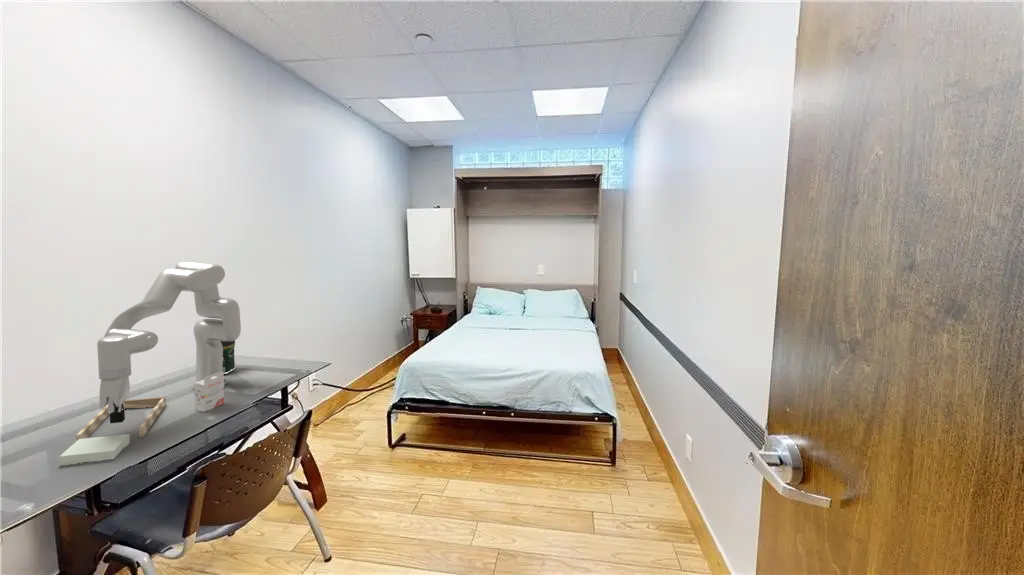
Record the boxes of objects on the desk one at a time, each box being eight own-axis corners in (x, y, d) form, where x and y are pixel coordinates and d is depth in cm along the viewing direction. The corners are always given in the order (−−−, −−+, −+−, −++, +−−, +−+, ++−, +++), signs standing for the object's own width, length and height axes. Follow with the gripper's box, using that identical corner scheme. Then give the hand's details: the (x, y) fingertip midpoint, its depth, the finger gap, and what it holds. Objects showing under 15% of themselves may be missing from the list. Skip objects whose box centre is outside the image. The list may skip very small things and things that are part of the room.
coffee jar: (220, 368, 191) (220, 334, 189) (237, 369, 193) (238, 335, 191) (208, 375, 182) (209, 339, 180) (226, 376, 183) (227, 340, 181)
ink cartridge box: (214, 401, 158) (215, 368, 157) (224, 403, 157) (224, 370, 156) (193, 410, 150) (194, 375, 148) (203, 412, 149) (204, 377, 147)
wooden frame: (110, 409, 143) (110, 401, 143) (165, 404, 151) (165, 396, 151) (76, 445, 121) (75, 435, 121) (142, 437, 129) (142, 427, 129)
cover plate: (79, 448, 120) (79, 438, 120) (129, 443, 125) (129, 434, 125) (59, 467, 111) (59, 456, 111) (114, 460, 117) (114, 450, 116)
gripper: (109, 364, 130) (111, 412, 133) (88, 382, 118) (91, 434, 120) (138, 363, 134) (140, 410, 137) (121, 379, 121) (123, 431, 124)
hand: (117, 421), depth 129 cm, fingers closed
